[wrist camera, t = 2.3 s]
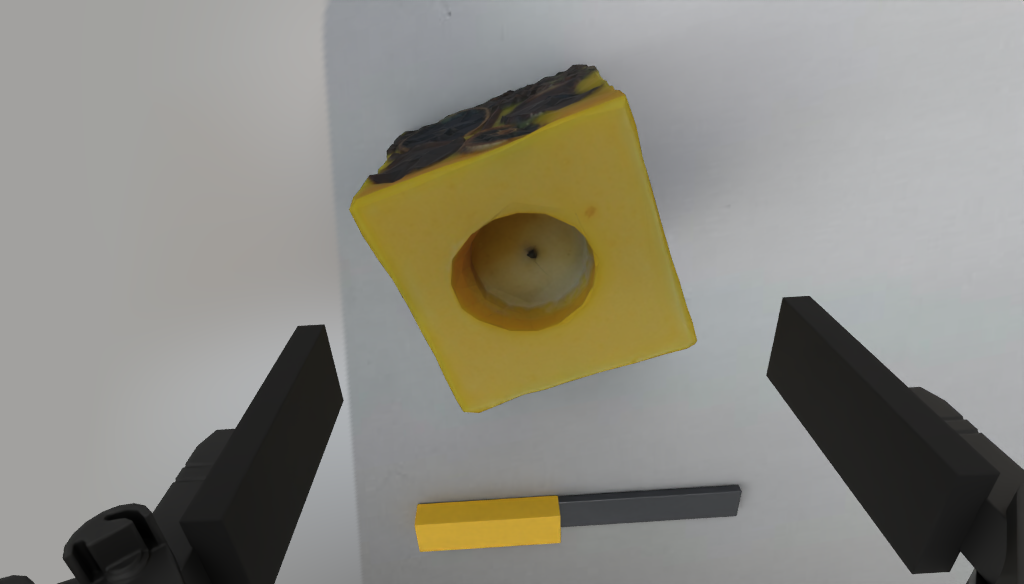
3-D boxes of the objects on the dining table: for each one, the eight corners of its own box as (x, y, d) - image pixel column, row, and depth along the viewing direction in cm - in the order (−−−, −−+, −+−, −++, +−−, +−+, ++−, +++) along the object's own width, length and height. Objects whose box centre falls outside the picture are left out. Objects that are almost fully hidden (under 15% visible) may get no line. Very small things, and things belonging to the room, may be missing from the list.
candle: (643, 244, 30) (707, 348, 21) (472, 304, 31) (465, 425, 22) (588, 54, 25) (641, 85, 16) (390, 136, 26) (340, 205, 18)
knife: (422, 530, 40) (419, 552, 38) (417, 504, 39) (414, 525, 37) (733, 510, 40) (743, 531, 39) (738, 483, 39) (749, 504, 37)
